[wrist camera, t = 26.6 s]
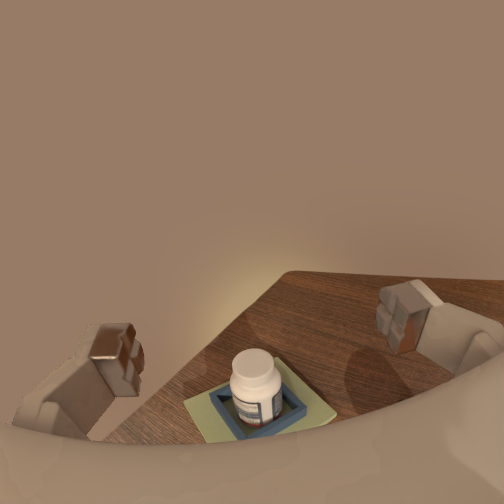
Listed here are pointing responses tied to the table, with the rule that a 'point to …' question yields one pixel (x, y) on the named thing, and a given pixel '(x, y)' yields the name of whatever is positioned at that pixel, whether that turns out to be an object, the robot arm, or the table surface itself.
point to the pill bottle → (256, 388)
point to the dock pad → (292, 419)
